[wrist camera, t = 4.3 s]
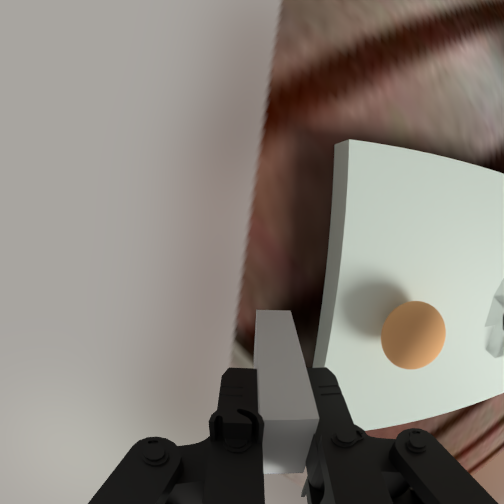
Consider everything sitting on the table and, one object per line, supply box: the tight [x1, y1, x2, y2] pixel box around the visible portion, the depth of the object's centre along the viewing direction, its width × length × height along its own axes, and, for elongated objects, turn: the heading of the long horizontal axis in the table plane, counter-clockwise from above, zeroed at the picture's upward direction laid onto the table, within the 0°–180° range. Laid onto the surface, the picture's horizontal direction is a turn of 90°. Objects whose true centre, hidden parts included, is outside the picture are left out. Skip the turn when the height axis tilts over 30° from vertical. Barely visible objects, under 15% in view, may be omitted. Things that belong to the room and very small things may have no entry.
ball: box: [381, 301, 446, 370], centre depth 13 cm, size 4×4×4 cm
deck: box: [312, 139, 504, 431], centre depth 16 cm, size 22×18×2 cm
